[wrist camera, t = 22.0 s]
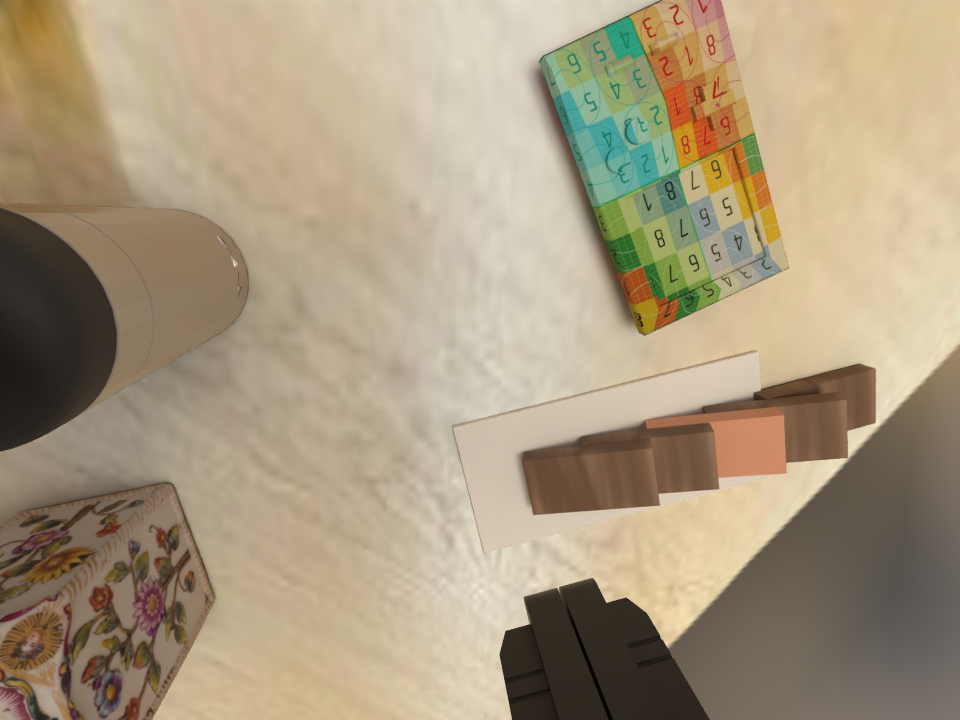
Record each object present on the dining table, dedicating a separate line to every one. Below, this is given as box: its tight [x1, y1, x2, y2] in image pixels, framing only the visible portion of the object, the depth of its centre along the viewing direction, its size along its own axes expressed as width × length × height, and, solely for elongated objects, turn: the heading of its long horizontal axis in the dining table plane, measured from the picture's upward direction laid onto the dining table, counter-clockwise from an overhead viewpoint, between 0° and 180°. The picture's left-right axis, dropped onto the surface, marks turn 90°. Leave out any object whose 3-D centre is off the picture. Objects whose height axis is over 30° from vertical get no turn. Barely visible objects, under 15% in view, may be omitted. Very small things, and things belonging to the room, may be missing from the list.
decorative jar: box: [0, 484, 214, 720], centre depth 33 cm, size 12×12×18 cm
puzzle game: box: [539, 0, 789, 335], centre depth 37 cm, size 12×5×20 cm
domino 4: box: [703, 392, 848, 463], centre depth 43 cm, size 2×5×10 cm
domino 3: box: [645, 407, 787, 478], centre depth 43 cm, size 2×5×10 cm
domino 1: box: [522, 439, 660, 515], centre depth 42 cm, size 2×5×10 cm
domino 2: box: [581, 423, 719, 494], centre depth 42 cm, size 2×5×10 cm
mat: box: [453, 351, 767, 553], centre depth 45 cm, size 26×12×1 cm, turn 102°
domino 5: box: [753, 364, 876, 431], centre depth 45 cm, size 2×5×10 cm
